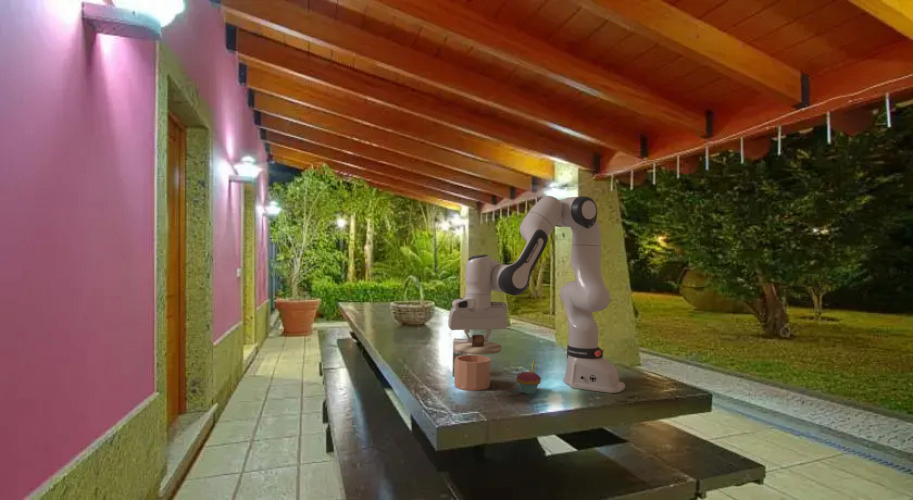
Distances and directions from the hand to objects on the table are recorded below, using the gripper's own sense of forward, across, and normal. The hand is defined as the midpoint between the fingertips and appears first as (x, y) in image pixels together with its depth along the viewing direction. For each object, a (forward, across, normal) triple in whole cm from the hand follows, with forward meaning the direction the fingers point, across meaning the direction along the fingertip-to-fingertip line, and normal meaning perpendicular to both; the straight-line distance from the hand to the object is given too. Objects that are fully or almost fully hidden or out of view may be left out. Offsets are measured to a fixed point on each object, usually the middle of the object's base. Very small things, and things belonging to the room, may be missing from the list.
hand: (477, 342), depth 158 cm
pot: (+19, -1, -14) cm, 23 cm away
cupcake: (+19, -19, -3) cm, 27 cm away
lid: (+2, 0, 0) cm, 2 cm away
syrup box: (+19, +1, -28) cm, 34 cm away
